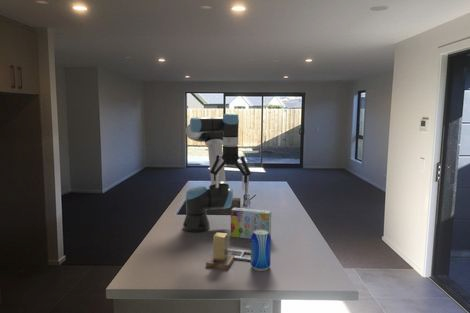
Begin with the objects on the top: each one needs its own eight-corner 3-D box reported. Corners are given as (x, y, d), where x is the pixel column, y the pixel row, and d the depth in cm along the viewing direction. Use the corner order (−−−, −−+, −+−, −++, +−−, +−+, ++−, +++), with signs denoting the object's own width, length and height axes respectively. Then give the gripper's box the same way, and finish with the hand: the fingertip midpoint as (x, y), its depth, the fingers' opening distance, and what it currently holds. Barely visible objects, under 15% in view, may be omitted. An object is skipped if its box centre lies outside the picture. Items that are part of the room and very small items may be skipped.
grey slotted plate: (216, 257, 162) (216, 255, 162) (222, 249, 170) (222, 247, 170) (260, 262, 157) (260, 260, 157) (264, 254, 165) (264, 252, 165)
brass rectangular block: (213, 260, 154) (213, 236, 152) (216, 255, 158) (216, 232, 157) (224, 261, 152) (224, 237, 151) (227, 257, 157) (227, 233, 156)
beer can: (249, 263, 156) (250, 228, 154) (268, 262, 157) (269, 228, 154) (252, 272, 148) (252, 235, 145) (271, 271, 148) (272, 235, 146)
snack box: (271, 238, 187) (271, 210, 185) (268, 242, 181) (269, 213, 179) (233, 233, 193) (233, 206, 191) (229, 236, 188) (230, 209, 186)
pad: (205, 266, 152) (205, 262, 152) (213, 257, 162) (213, 253, 161) (228, 269, 150) (228, 264, 149) (234, 259, 159) (234, 255, 159)
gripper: (203, 145, 171) (204, 188, 174) (254, 147, 165) (253, 191, 168) (208, 144, 178) (208, 185, 181) (257, 145, 172) (256, 188, 175)
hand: (230, 188), depth 174 cm, fingers open, 13 cm apart
